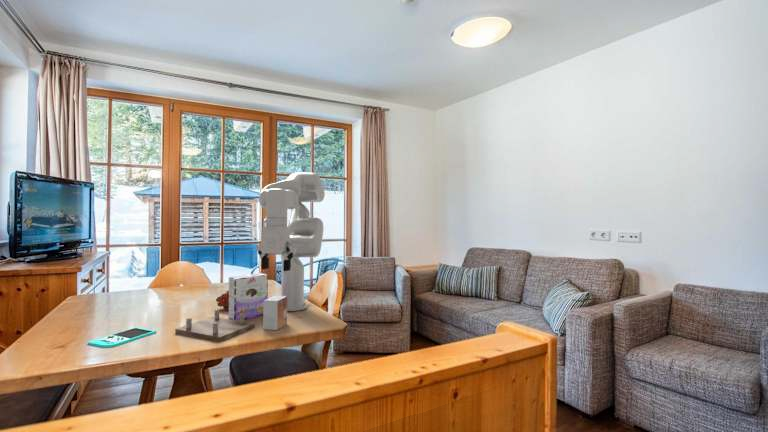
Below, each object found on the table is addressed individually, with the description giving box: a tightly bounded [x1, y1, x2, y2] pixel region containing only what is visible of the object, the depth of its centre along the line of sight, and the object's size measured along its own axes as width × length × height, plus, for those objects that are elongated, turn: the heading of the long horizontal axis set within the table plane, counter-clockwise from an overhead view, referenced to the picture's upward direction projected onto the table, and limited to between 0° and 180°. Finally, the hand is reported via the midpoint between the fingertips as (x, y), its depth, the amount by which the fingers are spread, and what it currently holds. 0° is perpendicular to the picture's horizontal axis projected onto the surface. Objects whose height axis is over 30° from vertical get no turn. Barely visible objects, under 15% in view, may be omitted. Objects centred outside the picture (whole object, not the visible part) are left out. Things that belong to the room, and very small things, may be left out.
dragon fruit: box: [215, 290, 229, 311], centre depth 157 cm, size 8×8×12 cm
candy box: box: [228, 272, 269, 321], centre depth 147 cm, size 14×6×16 cm, turn 135°
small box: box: [262, 295, 288, 331], centre depth 135 cm, size 8×6×10 cm
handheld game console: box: [87, 327, 157, 348], centre depth 121 cm, size 10×16×1 cm, turn 159°
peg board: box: [174, 308, 256, 343], centre depth 130 cm, size 16×20×5 cm
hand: (275, 269), depth 134 cm, fingers open, 9 cm apart
